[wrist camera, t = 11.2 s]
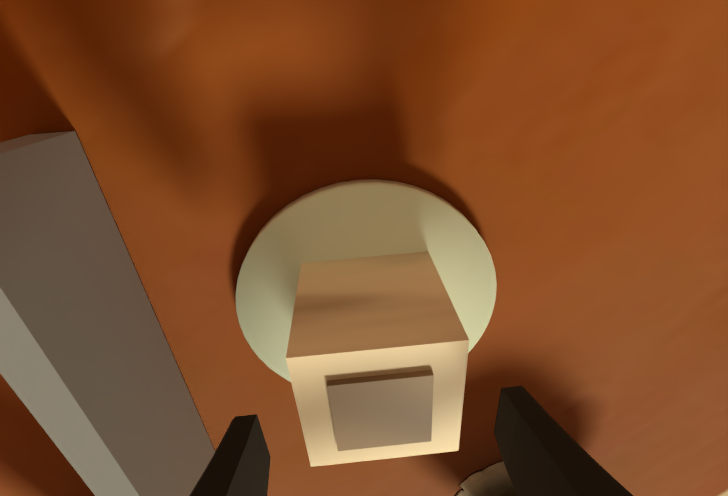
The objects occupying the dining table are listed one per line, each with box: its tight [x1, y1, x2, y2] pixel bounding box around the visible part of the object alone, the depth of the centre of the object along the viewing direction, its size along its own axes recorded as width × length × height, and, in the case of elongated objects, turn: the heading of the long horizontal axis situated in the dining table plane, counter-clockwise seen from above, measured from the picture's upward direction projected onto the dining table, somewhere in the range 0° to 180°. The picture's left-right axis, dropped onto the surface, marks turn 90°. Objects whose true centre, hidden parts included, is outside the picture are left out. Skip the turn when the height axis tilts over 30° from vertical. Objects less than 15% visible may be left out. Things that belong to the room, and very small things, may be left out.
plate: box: [236, 179, 497, 382], centre depth 16 cm, size 11×11×1 cm
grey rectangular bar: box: [0, 131, 215, 496], centre depth 14 cm, size 18×2×5 cm, turn 4°
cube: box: [286, 251, 469, 467], centre depth 13 cm, size 5×5×5 cm
